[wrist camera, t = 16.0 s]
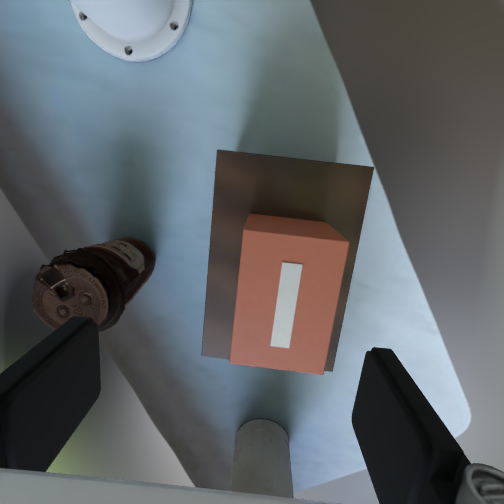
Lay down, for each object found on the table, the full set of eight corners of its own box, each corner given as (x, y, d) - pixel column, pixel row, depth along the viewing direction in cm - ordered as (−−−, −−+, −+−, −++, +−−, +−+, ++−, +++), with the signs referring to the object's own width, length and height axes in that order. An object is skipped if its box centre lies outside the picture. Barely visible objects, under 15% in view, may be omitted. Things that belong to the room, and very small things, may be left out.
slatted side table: (233, 157, 36) (217, 149, 24) (336, 168, 36) (374, 167, 23) (221, 298, 41) (201, 356, 28) (311, 309, 41) (332, 372, 28)
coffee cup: (100, 221, 39) (21, 245, 26) (165, 231, 39) (118, 260, 26) (98, 285, 41) (24, 336, 28) (160, 295, 41) (114, 350, 28)
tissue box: (238, 315, 27) (228, 364, 20) (249, 213, 25) (243, 229, 18) (308, 324, 27) (323, 376, 20) (326, 222, 25) (350, 241, 18)
